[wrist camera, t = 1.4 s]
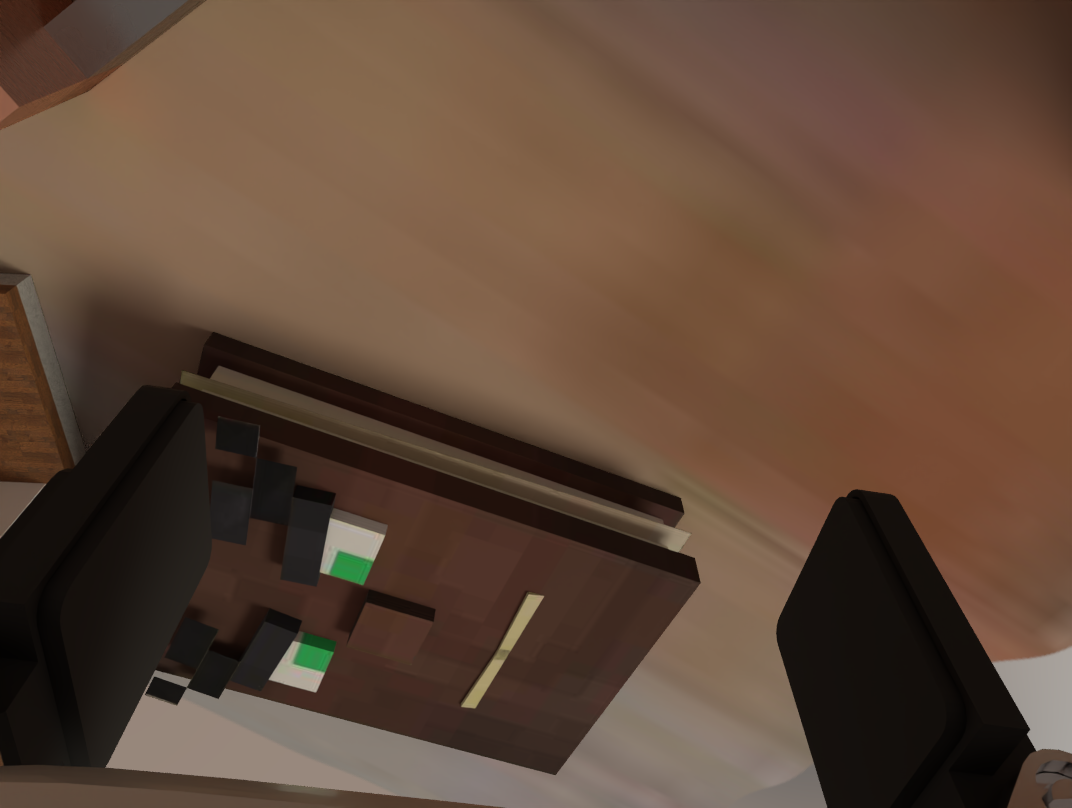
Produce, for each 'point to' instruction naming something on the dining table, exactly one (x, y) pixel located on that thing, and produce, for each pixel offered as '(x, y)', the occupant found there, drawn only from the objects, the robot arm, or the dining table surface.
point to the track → (72, 46)
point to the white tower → (30, 402)
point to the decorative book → (415, 566)
